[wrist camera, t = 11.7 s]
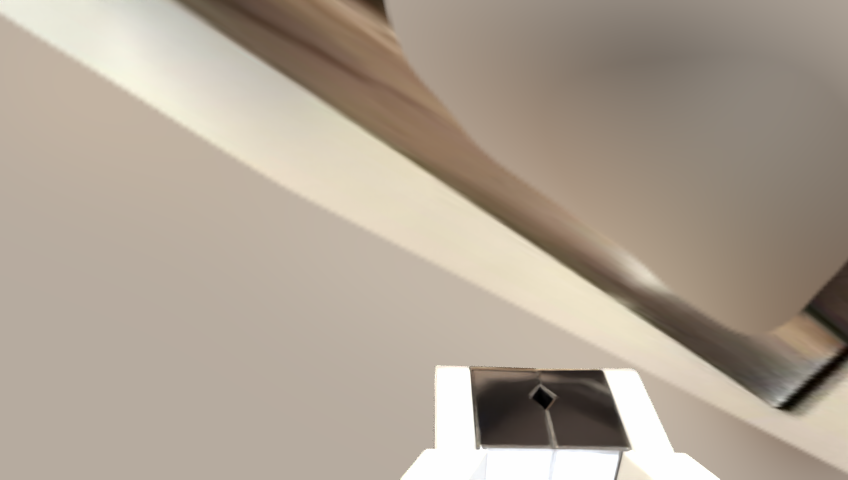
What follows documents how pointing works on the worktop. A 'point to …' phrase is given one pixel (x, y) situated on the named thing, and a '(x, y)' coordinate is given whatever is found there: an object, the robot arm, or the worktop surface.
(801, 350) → the worktop surface
